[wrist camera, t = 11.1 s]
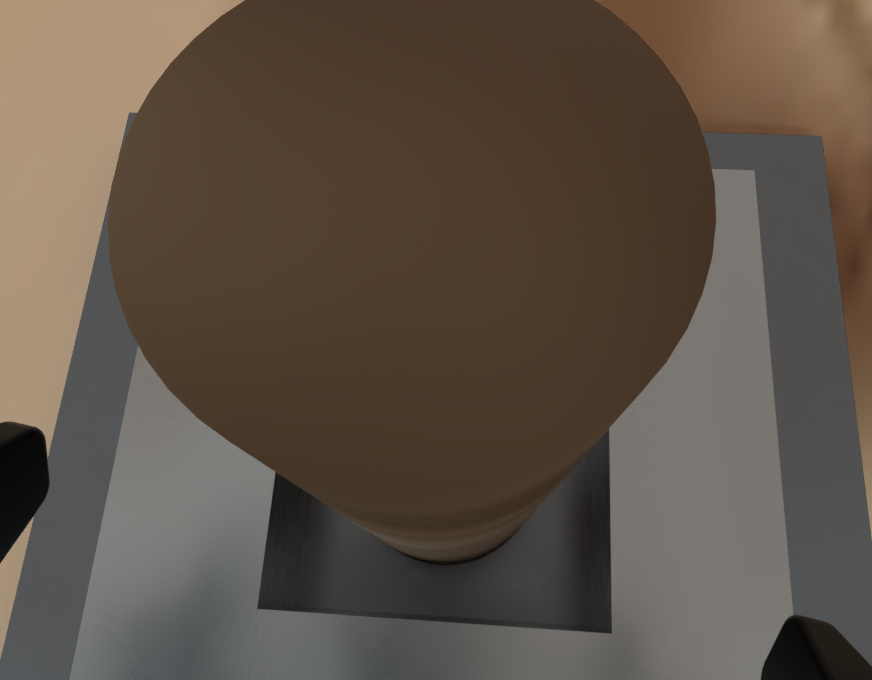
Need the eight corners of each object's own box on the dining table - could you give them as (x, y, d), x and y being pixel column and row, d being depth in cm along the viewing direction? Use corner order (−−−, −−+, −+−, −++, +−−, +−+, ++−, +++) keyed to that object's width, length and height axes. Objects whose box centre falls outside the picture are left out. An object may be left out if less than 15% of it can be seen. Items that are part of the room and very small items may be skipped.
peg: (461, 605, 15) (462, 642, 4) (318, 485, 16) (-16, 235, 5) (573, 455, 16) (830, 135, 5) (431, 349, 17) (372, -126, 6)
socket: (898, 988, 14) (1064, 1138, 10) (-29, 903, 15) (-198, 1009, 11) (804, 158, 20) (886, 54, 16) (144, 134, 21) (72, 30, 17)
